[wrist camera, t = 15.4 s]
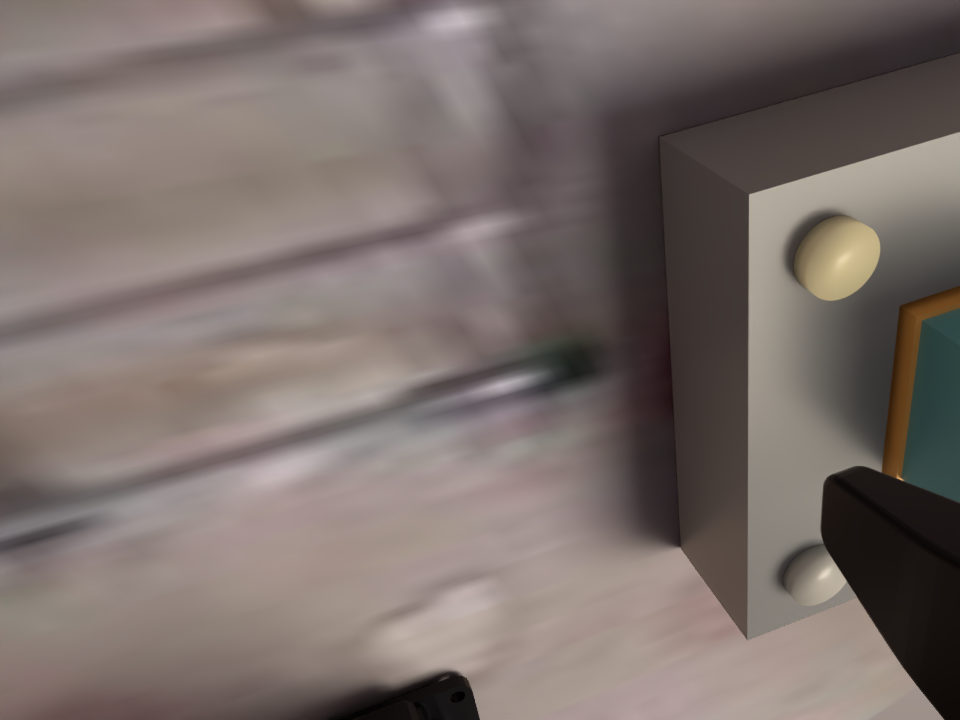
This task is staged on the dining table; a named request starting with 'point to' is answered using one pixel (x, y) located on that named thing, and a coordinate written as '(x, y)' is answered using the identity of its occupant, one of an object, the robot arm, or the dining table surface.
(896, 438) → the breaker button
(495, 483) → the dining table surface
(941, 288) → the breaker panel
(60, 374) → the dining table surface
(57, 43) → the dining table surface
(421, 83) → the dining table surface
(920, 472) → the teal cube
